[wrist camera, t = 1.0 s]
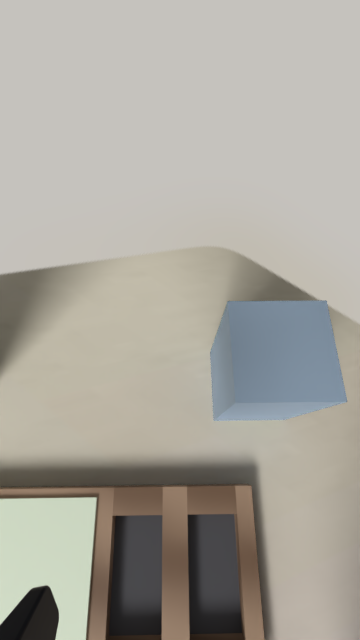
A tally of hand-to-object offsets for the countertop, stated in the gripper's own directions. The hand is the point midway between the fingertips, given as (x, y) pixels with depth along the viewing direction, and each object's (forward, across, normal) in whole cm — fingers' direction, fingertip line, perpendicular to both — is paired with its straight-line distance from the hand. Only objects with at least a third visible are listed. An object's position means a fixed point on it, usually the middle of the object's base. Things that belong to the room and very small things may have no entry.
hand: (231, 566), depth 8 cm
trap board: (+9, +8, +10) cm, 16 cm away
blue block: (+16, -3, +3) cm, 16 cm away
